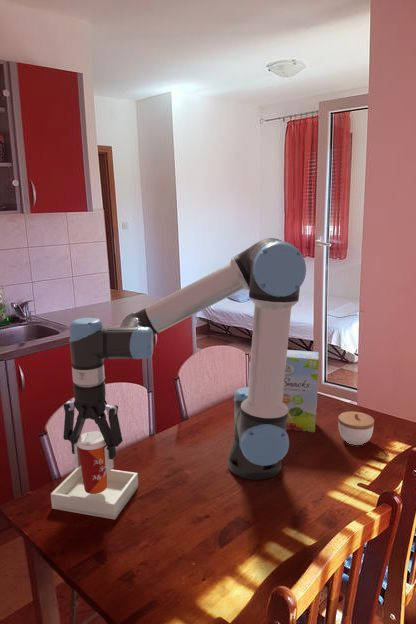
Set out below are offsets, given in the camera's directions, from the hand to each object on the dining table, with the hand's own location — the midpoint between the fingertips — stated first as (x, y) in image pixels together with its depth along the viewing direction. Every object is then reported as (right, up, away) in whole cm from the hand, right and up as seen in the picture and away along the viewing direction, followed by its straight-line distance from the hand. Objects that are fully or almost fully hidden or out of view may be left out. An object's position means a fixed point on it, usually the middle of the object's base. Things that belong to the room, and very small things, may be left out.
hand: (94, 467), depth 121 cm
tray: (0, -8, +2) cm, 8 cm away
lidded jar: (+75, -2, +29) cm, 80 cm away
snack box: (+54, +1, +41) cm, 68 cm away
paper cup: (0, -6, +1) cm, 6 cm away
